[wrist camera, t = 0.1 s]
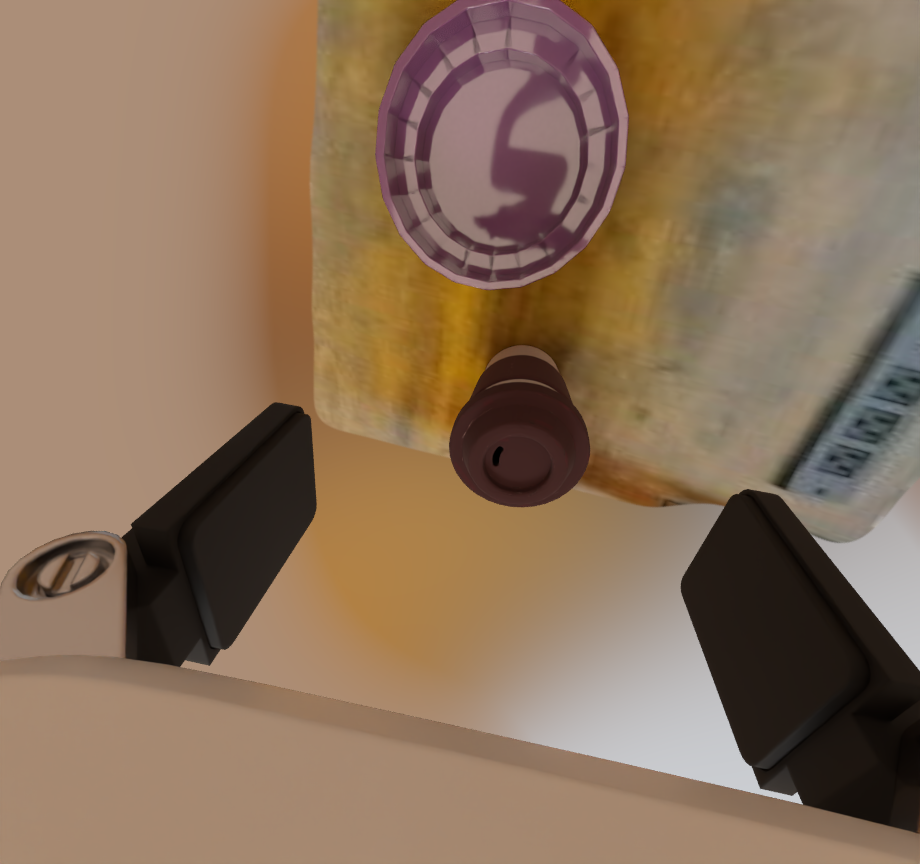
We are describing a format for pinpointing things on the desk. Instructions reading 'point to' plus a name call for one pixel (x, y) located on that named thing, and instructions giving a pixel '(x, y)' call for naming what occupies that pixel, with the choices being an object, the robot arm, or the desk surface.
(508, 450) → the coffee cup
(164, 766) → the robot arm
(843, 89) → the desk surface
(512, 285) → the bowl
